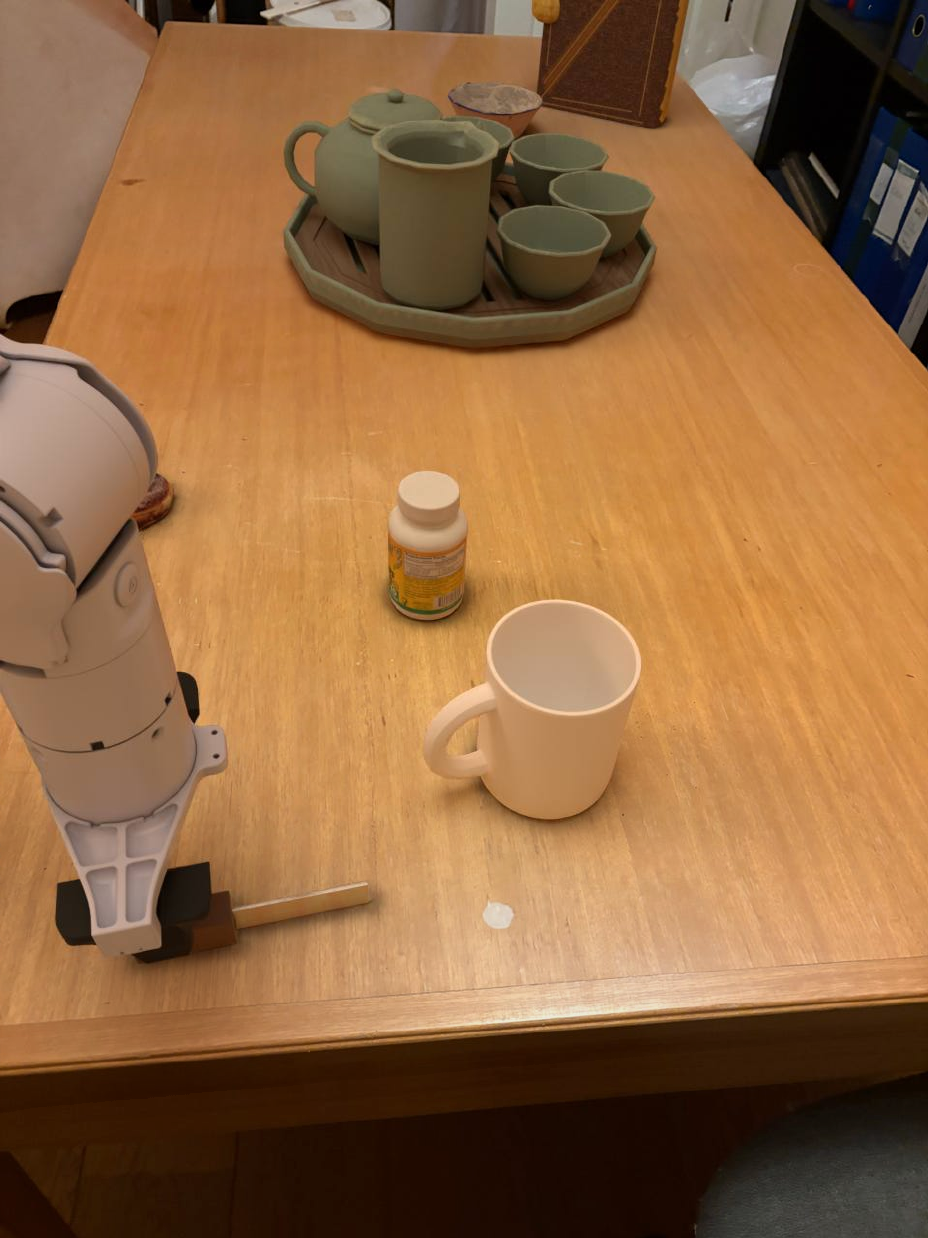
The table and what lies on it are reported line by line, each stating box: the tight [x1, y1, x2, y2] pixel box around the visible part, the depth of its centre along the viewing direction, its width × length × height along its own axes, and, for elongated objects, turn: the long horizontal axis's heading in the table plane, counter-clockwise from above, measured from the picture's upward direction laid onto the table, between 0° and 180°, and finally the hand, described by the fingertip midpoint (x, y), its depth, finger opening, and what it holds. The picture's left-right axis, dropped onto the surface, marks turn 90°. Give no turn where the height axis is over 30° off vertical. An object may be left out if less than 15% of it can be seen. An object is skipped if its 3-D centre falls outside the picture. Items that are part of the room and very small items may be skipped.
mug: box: [422, 599, 642, 820], centre depth 52 cm, size 12×8×10 cm
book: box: [531, 0, 690, 129], centre depth 131 cm, size 22×8×25 cm, turn 65°
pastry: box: [130, 472, 174, 531], centre depth 70 cm, size 8×8×5 cm
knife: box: [134, 880, 370, 964], centre depth 48 cm, size 12×2×2 cm, turn 104°
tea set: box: [282, 88, 658, 349], centre depth 97 cm, size 40×40×16 cm
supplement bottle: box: [387, 470, 469, 621], centre depth 63 cm, size 5×5×10 cm
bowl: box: [447, 81, 543, 140], centre depth 129 cm, size 13×13×5 cm
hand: (165, 874), depth 43 cm, fingers open, 7 cm apart
